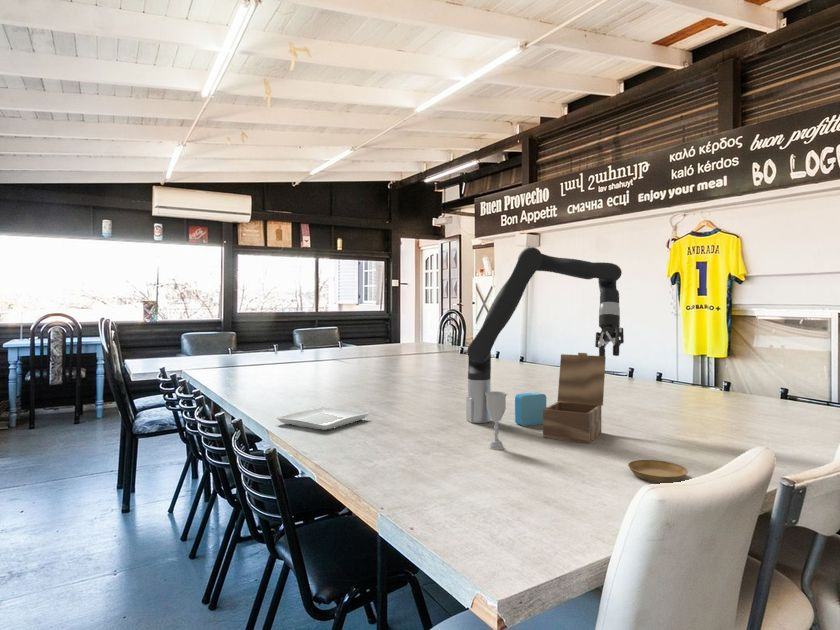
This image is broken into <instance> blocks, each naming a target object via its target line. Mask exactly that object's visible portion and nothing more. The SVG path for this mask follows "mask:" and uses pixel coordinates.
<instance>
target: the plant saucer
mask: <svg viewBox="0 0 840 630" xmlns="http://www.w3.org/2000/svg"><path fill="white" fill-rule="evenodd" d="M627 466H628V468H629V470H630V471H631V472H632V473H633V474H634V475H635V476H636V477H637V478H639V477H640V478H639V479H641V478H642V479H641V480H644V479H645V480H644V481H647V482H648V481H649V482H653V483H661V484H666V483H665V482H673V483H676V481H677V482H679V481H680V480H682V479H683V478H684V477H686V476H687V474H688V473H689V471H688V469H687V468H686V467H684V466H683V465H680V464H677V463H675V462H672V461H665V460H659V459H636V460H632V461H630V462H628V464H627Z"/></svg>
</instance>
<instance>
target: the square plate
mask: <svg viewBox="0 0 840 630" xmlns="http://www.w3.org/2000/svg"><path fill="white" fill-rule="evenodd" d="M320 413H325V414H329V415H334V416H337V417H343V418H342V419H337V420H335V421H333V422H328V423H323V424H316V423H311V422H306V421H301V420H300V419H304V418H308V417H311V416H314V415H317V414H320ZM370 414H371V413H370V412H367V411H361V410H355V409H347V408H340V407H339V408H338V407H327V406H325V407H324V406H321V407H317V408H312V409H311V408H310V409H306V410H301V411H296V412H292V413H289V414H284V415H281V416H277V417H276V418H275V419H276V420H278V421H279V422H280V423H283V424H284V423H285V424H284V425H289V424H292V425H291V426H293V425H298V426H297V427H299V426H304V427H303V428H305V427H310V428H309V429H311V428H315V429H314V430H317V429H322V430H321V431H326V430H327V429H329V430H332V429H331V428H334V427H337V428H339V427H338V426H340V427H342V426H341V425H344V426H346V425H345V424H347V425H349V424H348V423H351V424H353V423H352V422H354V423H356V422H358V421H361V420H363V419H366V418H367V417H368V416H369V415H370ZM355 421H356V422H355ZM334 429H335V428H334ZM327 431H328V430H327Z"/></svg>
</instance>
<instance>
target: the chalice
mask: <svg viewBox="0 0 840 630" xmlns="http://www.w3.org/2000/svg"><path fill="white" fill-rule="evenodd" d="M485 394H486V396H487V410H488V413H489V415H490V417H491V421H493V422H494V426H493V428H494V431H493V434H494V438H493V439H492V440H491V441H490V443H489V446H488V449H490V450H494V451H495V450H497V451H498V450H499V451H500V450H503V449H505V446H504V444H503V442H502V440H500V439H499V430H498V429H499V428H500V427H499V422H500V421H501V420H502V418H503V416H504V414H505V412H506V399H507V398H506V397H507V395H508V393H507V392H505V391H491V392H485Z"/></svg>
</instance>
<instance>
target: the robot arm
mask: <svg viewBox="0 0 840 630" xmlns="http://www.w3.org/2000/svg"><path fill="white" fill-rule="evenodd" d="M536 272H547V273H548V272H549V273H553V274H554V273H555V274H559V275H562V276H563V275H565V276H569V277H573V278H577V279H582V280H592V279H598V287H599V308H598V327H599V328H600V329H601V331H600V332H597V331H596V332H595V341H594V342H595V344H594V347H595V348H598V356H605V357H606V347H607V345H609V343H610V342H611V343H612V356H614V357H619V356H620V346H621V344H624V341H625V337H624V328H623V327H620V326H621V325H620V324H621V318H620V317H621V310H620V292H619V290H618V289H617V281H618V280H620V278H621V276H622V269H621V268H620V266H619V265H618V264H615V263H613V262H612V263H611V262H599V261H597V262H593V261H592V262H591V261H587V260H582V259H577V258H576V259H574V258H566V257H557V256H551V255H548V254H545V253H542V252H541V251H540V250H539V249H538V247H537V248H536V247H534V246H532V247H530V246H529V247H526V248H524V249H522V251H521V252H520V253H519V255H518V257H517V262H516V264H515V266H514V268H513V270H512V273H511V274H510V276H509V278H508V279H507V281H506V282H505V283H504V284H503V286H502V287H501V288H500V289H499V291H498V293H497V295H496V297H495V298H494V300H493V302H492V303H491V305H490V307H489V310H488V312H487V314H486V316H485V319H484V321H483V324H482V325H481V328H480V329H479V331H478V332H477V334H476V335H475V337H474V338H473V340H472V341H471V342H470V343H469V345H468V346H467V349H466V353H467V358H468V360H467V361H468V366H467V369H468V370H467V396H466V399H465V401H466V403H465V404H466V410H465V411H466V413H465V414H466V421H468V422H469V423H471V424H473V423H475V424H484V423H485V424H486V423H489V422H491V421H492V419H491V417H490V415H489V413H488V410H487V396H486V394H485V392H492V389H491V388H492V387H491V385H492V384H491V382H492V381H491V380H492V379H491V377H492V376H491V372H492V363H491V362H492V358H491V357H492V355H491V354H492V349H493V347H494V345H495V342H496V340H497V339H498V337H499V334H500V333H501V332H502V331H503V329H504V328H505V327H506V326H507V324H508V323H509V321H510V319H511V318H512V317H513V315H514V313H515V311H516V309H517V307H519V306H518V305H519V303H520V301H521V299H522V297H523V295H524V293H525V290H526V288H527V285H528V284H529V282H530V280H531V279H532V278H533V276H534V274H535V273H536Z"/></svg>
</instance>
